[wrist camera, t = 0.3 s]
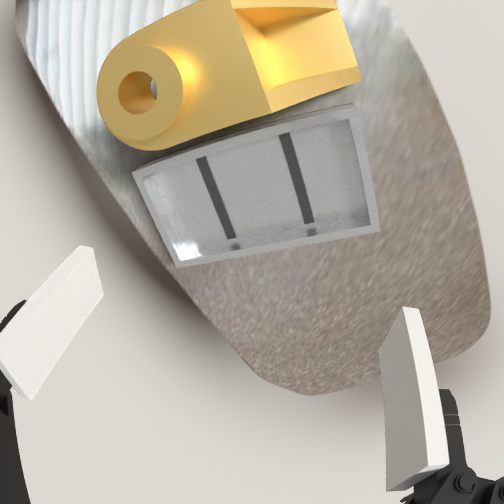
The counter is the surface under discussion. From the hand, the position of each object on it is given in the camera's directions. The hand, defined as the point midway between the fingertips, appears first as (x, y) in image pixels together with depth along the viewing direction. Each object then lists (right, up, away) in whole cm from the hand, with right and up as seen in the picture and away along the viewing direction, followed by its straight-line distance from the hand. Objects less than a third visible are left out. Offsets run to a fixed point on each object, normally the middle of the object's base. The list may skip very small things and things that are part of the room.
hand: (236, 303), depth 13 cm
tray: (+1, +10, +25) cm, 27 cm away
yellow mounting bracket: (+1, +22, +17) cm, 28 cm away
